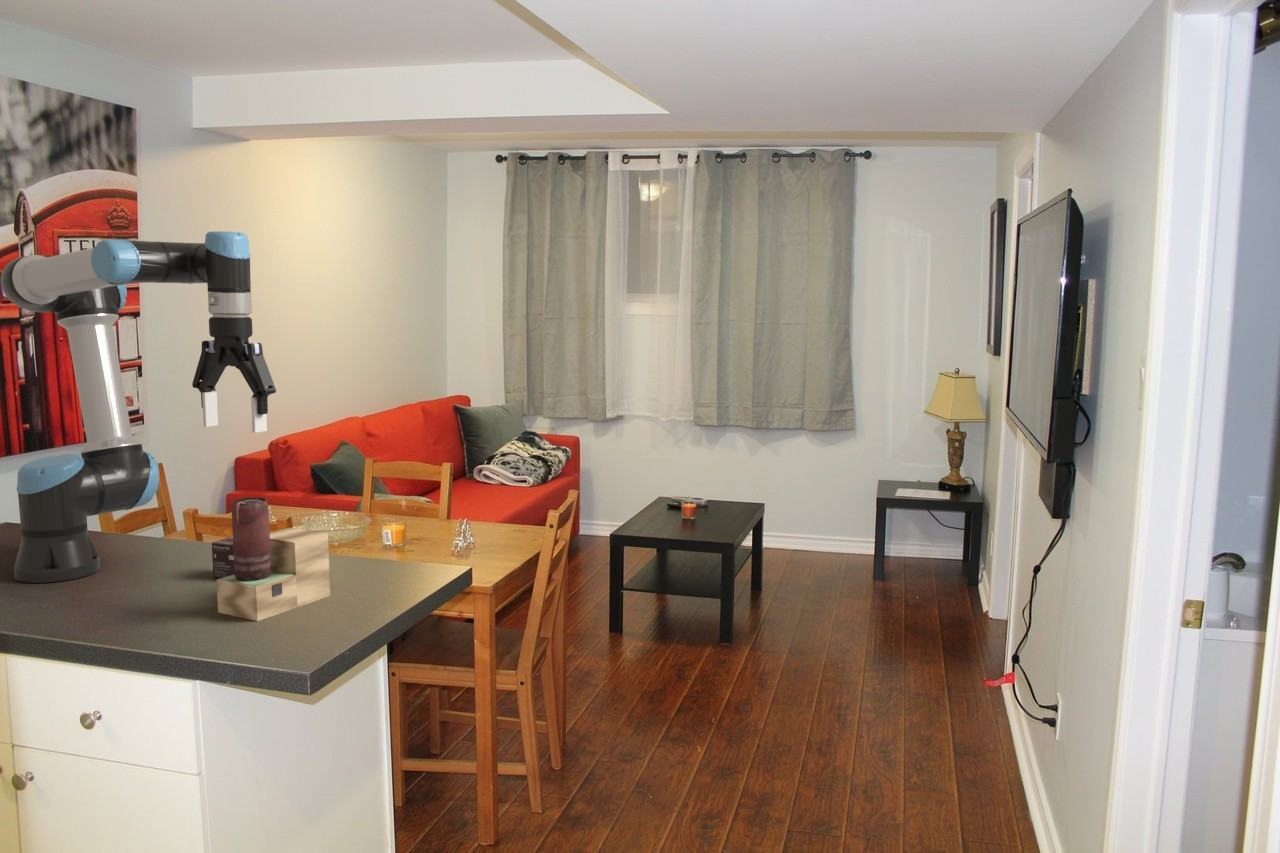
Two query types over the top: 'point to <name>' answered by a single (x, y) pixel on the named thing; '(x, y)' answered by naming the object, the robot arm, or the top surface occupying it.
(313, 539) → the stand
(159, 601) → the top surface
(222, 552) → the box
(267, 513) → the can
